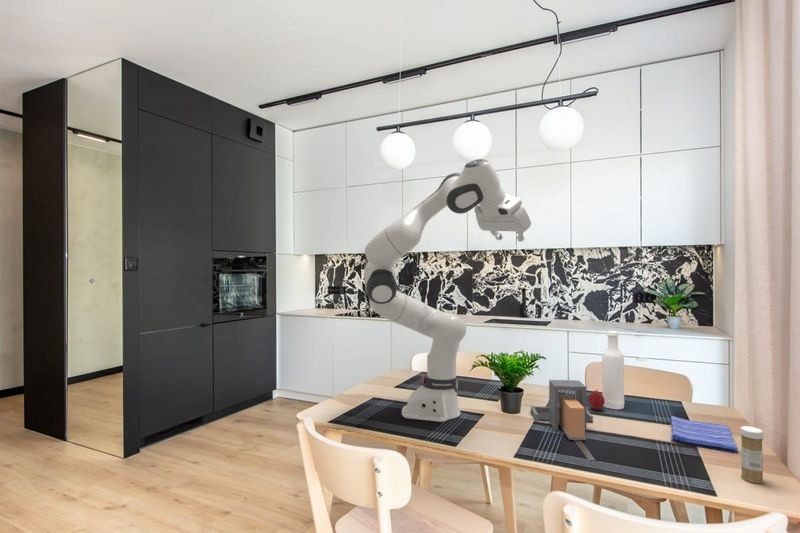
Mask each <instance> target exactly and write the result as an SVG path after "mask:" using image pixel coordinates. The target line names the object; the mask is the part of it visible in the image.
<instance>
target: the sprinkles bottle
mask: <svg viewBox="0 0 800 533" xmlns="http://www.w3.org/2000/svg"><path fill="white" fill-rule="evenodd" d="M739 433H740V436H741V446H740V447H741V448H740V450H741V451H740V453H741V454H740V456H741V458H740V460H741V462H740V464H741V474H740V476H741V478H742V480H744V481H746V482H749V483H753V484H762V483H763V482H764V479H763V477H764V476H763V475H764V474H763V469H764V460H763V459H764V458H763V439H764V432H763V430H762V429H760V428H758V427H754V426H747V425H746V426H745V425H744V426H741V427H740V432H739Z"/></svg>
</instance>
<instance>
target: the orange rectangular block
mask: <svg viewBox="0 0 800 533" xmlns="http://www.w3.org/2000/svg"><path fill="white" fill-rule="evenodd" d="M558 407H559V421H558V426H559V427H560V428H561V430H562V431H563V433H564V434H565V436H566V437H567V439H568V440H570V441H571V440H572V441H574V440H581V441H587V438H586V433H585V408H584V407H583V406H582V405H581V404H580V403H579V402H578V401H577V400H576V397H575V396H574V395H572V394H558Z"/></svg>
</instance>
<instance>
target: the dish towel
mask: <svg viewBox="0 0 800 533" xmlns="http://www.w3.org/2000/svg"><path fill="white" fill-rule="evenodd" d="M670 417H671V419H670V420H671V422H670V426H671V434H670V435H671V436H670V440H671V442H674V443H676V444H684V445H689V446H694V447H699V448H704V449H711V450H716V451H720V452H726V453H733V454H737V453H738V447H737V445H736V442H735V439H734V437H733V434H732V432H731V429H730V427H729V425H727V424H726V425H725V424H719V423H713V422H712V423H710V422H704V421H698V420H697V421H696V420H690V419H689V420H688V419H686V418H682V417H677V416H674V415H671V416H670Z"/></svg>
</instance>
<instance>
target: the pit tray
mask: <svg viewBox="0 0 800 533" xmlns="http://www.w3.org/2000/svg"><path fill="white" fill-rule="evenodd" d="M530 414H531V415H532V418H533V419H534V421H535V422H549V406H536V405H531V406H530ZM558 421H559V406H558ZM588 423H589V424H593V423H594V416H593V415H592V414H591V413H590V412H589V411H588V409H586V424H588Z"/></svg>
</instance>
